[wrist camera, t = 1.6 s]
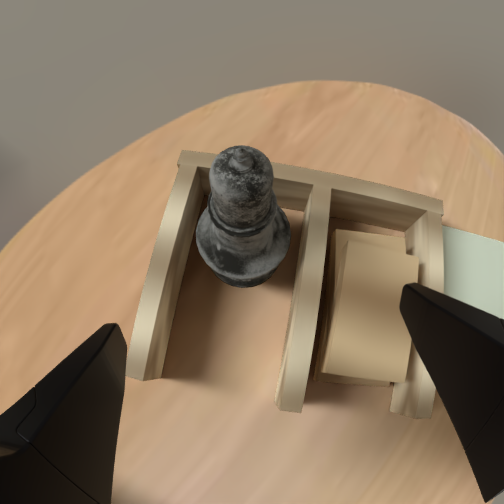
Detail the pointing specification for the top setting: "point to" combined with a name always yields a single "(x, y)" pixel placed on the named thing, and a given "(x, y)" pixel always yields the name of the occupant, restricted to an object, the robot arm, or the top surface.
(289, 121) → the top surface
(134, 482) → the top surface
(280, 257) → the grey rounded tall piece
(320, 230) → the birch rack
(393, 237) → the offcut stack
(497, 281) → the sage mat
